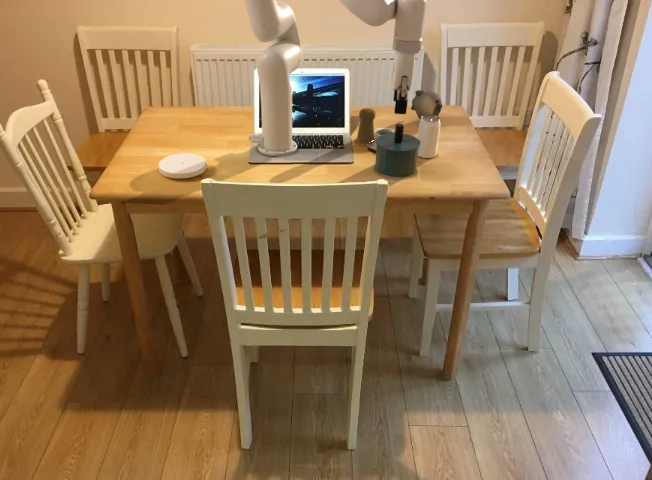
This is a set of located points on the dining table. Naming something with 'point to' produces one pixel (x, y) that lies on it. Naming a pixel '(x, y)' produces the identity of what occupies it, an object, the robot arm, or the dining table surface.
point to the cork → (366, 126)
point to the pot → (395, 162)
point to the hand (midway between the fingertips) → (399, 107)
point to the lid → (398, 141)
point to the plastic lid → (182, 165)
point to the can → (428, 136)
